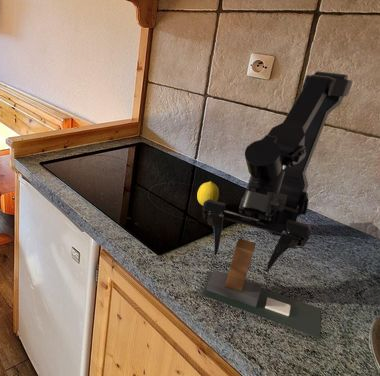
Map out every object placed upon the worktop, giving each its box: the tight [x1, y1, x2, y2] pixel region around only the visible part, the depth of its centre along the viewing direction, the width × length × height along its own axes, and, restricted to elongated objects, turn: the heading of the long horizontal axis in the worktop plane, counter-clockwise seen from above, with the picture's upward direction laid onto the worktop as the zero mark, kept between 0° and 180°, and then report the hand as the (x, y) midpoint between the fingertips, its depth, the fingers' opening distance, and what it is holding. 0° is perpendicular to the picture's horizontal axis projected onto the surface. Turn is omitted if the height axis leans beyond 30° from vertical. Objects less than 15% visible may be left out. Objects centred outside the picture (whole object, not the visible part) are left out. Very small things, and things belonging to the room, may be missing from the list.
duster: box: [207, 238, 263, 307], centre depth 78 cm, size 9×5×11 cm, turn 57°
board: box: [200, 271, 322, 339], centre depth 78 cm, size 20×9×1 cm, turn 57°
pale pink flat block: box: [265, 297, 291, 316], centre depth 76 cm, size 4×3×1 cm
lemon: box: [196, 181, 220, 206], centre depth 113 cm, size 6×6×8 cm
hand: (240, 262), depth 77 cm, fingers open, 9 cm apart
